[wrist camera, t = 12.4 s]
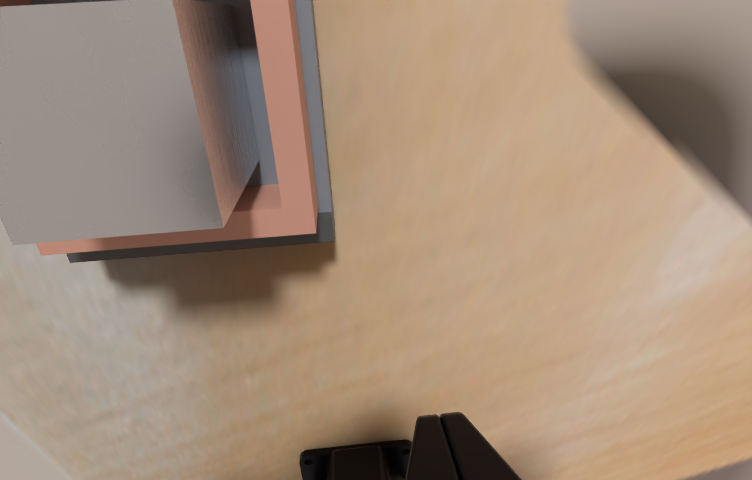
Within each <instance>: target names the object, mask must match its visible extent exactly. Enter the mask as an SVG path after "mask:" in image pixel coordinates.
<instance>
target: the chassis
mask: <svg viewBox="0 0 752 480" xmlns="http://www.w3.org/2000/svg"><path fill="white" fill-rule="evenodd" d="M99 1H118V0H0V7H3V6H22V5H42V4H61V3H80V2H99ZM193 1H201V2H209V3H216V4H224V5H232V6H233V8H234V14H235V20H236V25H237V31H238V37H239V43H240V49H241V54H242V60H243V66H244V72H245V78H246V84H247V89H248V95H249V101H250V107H251V113H252V119H253V124H254V130H255V136H256V142H257V148H258V153H259V159H260V160H259V161H258V163H257V165H256V167H255V169H254V171H253V173H252V175H251V177H250V179H249V180H248V182H247V184H246V186H245V188H244V190H243V192H242V194H241V196H240V198H239V199H238V201H237V203H236V205H235V207H234V209H233V211H232V213H231V215H230V217H229V218H228V220H227V222H226V224H225V226H224V228H217V229H205V230H192V231H180V232H167V233H155V234H143V235H130V236H118V237H105V238H93V239H80V240H68V241H55V242H43V243H36V245H37V247H38V249H39V251H40V254H41V255H52V254H64V253H66V254H67V256H68V259H69V261H70V263H74V262H86V261H98V260H111V259H123V258H135V257H148V256H160V255H172V254H185V253H197V252H209V251H221V250H234V249H246V248H258V247H271V246H283V245H295V244H307V243H320V242H332V241H334V239H335V223H334V213H333V202H332V192H331V182H330V172H329V162H328V152H327V142H326V132H325V122H324V111H323V101H322V91H321V81H320V71H319V61H318V51H317V41H316V31H315V20H314V10H313V0H193Z"/></svg>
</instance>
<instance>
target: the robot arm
mask: <svg viewBox="0 0 752 480" xmlns="http://www.w3.org/2000/svg"><path fill="white" fill-rule="evenodd" d="M300 468H301V473H302V479H303V480H522V479H521V478H520V477H519V476H518V475H517V474H516V473H515V472H514V470H513V469H512V468H511V467H510V466H509V465H508V464H507V463H506V462H505V460H504V459H503V458H502V457H501V456H500V455H499V454H498V453H497V451H496V450H495V449H494V448H493V447H492V446H491V445H490V444H489V442H488V441H487V440H486V439H485V438H484V437H483V436H482V435H481V433H480V432H479V431H478V430H477V429H476V428H475V427H474V426H473V424H472V423H471V422H470V421H469V420H468V419H467V418H466V417H465V415H464V414H462V413H460V412H453V413H444V414H441V415H440V417H439V416H438V415H435V414H434V415H424V416H419V417H418V418H417V420H416V425H415V431H414V436H413V442H411V441H409V440H398V441H388V442H379V443H370V444H360V445H351V446H341V447H332V448H323V449H313V450H306V451H304V452H302V453H301V454H300Z"/></svg>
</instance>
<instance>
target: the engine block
mask: <svg viewBox="0 0 752 480" xmlns="http://www.w3.org/2000/svg"><path fill="white" fill-rule="evenodd" d="M259 160H260V159H259V153H258V148H257V142H256V136H255V130H254V124H253V119H252V113H251V107H250V101H249V95H248V89H247V84H246V78H245V72H244V66H243V60H242V54H241V49H240V43H239V37H238V31H237V25H236V20H235V14H234V8H233V6H232V5H224V4H216V3H209V2H201V1H193V0H118V1H99V2H80V3H61V4H42V5H22V6H3V7H0V218H1V221H2V223H3V225H4V227H5V229H6V231H7V233H8V236H9V238H10V240H11V242H12V244H13V245H18V244H30V243H43V242H55V241H68V240H80V239H93V238H105V237H118V236H130V235H143V234H155V233H167V232H180V231H192V230H205V229H217V228H224V226H225V224H226V222H227V220H228V218H229V217H230V215H231V213H232V211H233V209H234V207H235V205H236V203H237V201H238V199H239V198H240V196H241V194H242V192H243V190H244V188H245V186H246V184H247V182H248V180H249V179H250V177H251V175H252V173H253V171H254V169H255V167H256V165H257V163H258V161H259Z"/></svg>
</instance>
